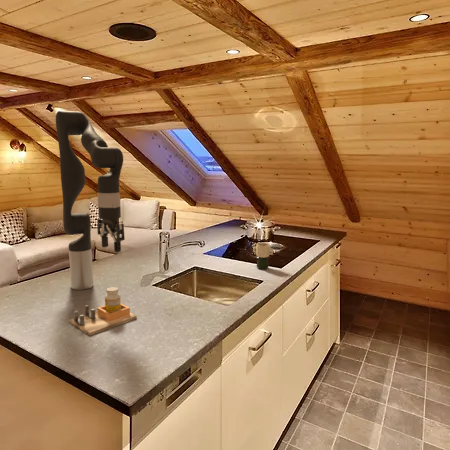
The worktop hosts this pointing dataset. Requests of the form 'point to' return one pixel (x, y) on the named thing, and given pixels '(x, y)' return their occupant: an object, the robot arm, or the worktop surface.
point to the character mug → (262, 254)
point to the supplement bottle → (112, 300)
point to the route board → (101, 323)
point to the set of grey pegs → (81, 321)
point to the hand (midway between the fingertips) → (111, 249)
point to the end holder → (113, 313)
